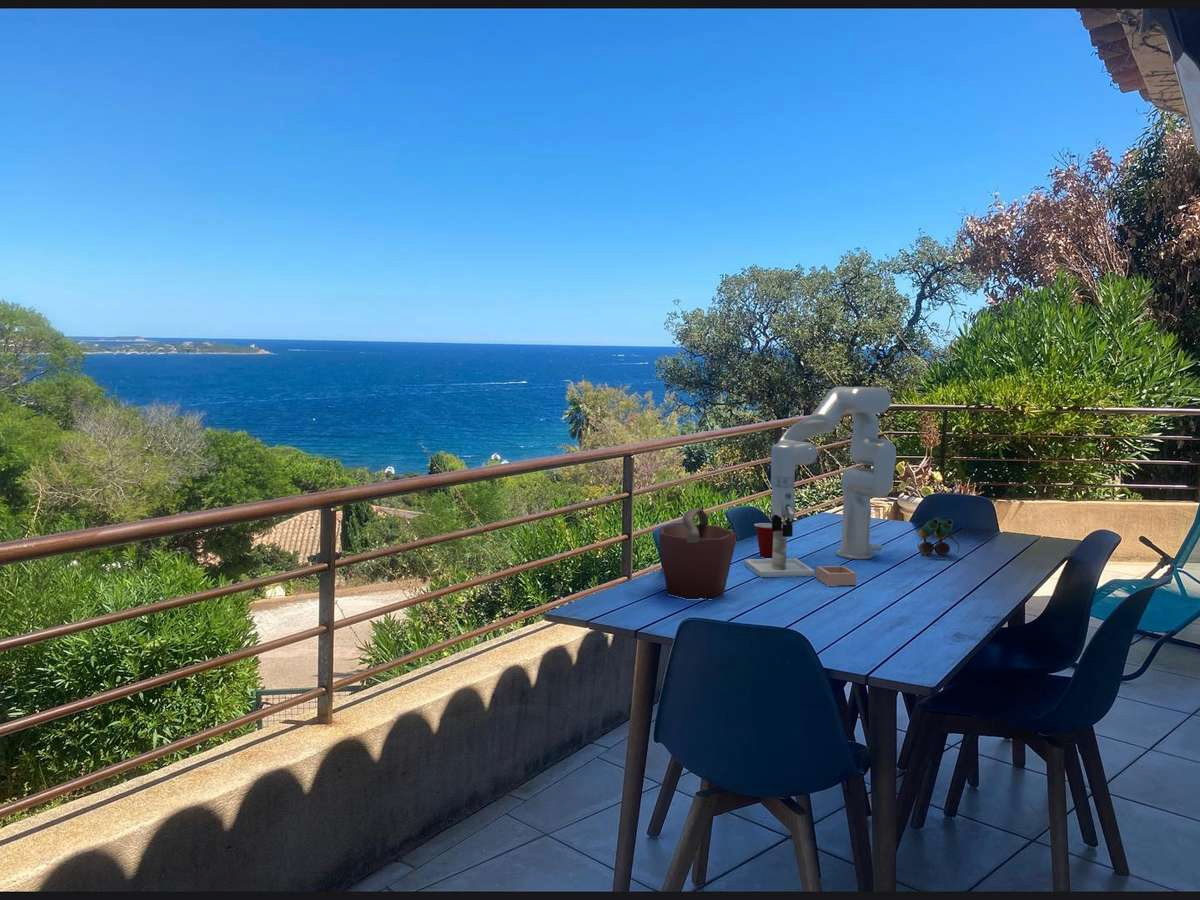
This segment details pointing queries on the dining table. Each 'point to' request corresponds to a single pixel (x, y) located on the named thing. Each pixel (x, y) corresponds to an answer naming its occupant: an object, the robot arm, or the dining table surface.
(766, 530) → the plastic cup
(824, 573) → the terracotta holder
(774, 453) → the robot arm
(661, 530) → the bucket
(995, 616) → the dining table surface
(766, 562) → the plastic tray
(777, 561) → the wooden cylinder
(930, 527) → the binoculars
